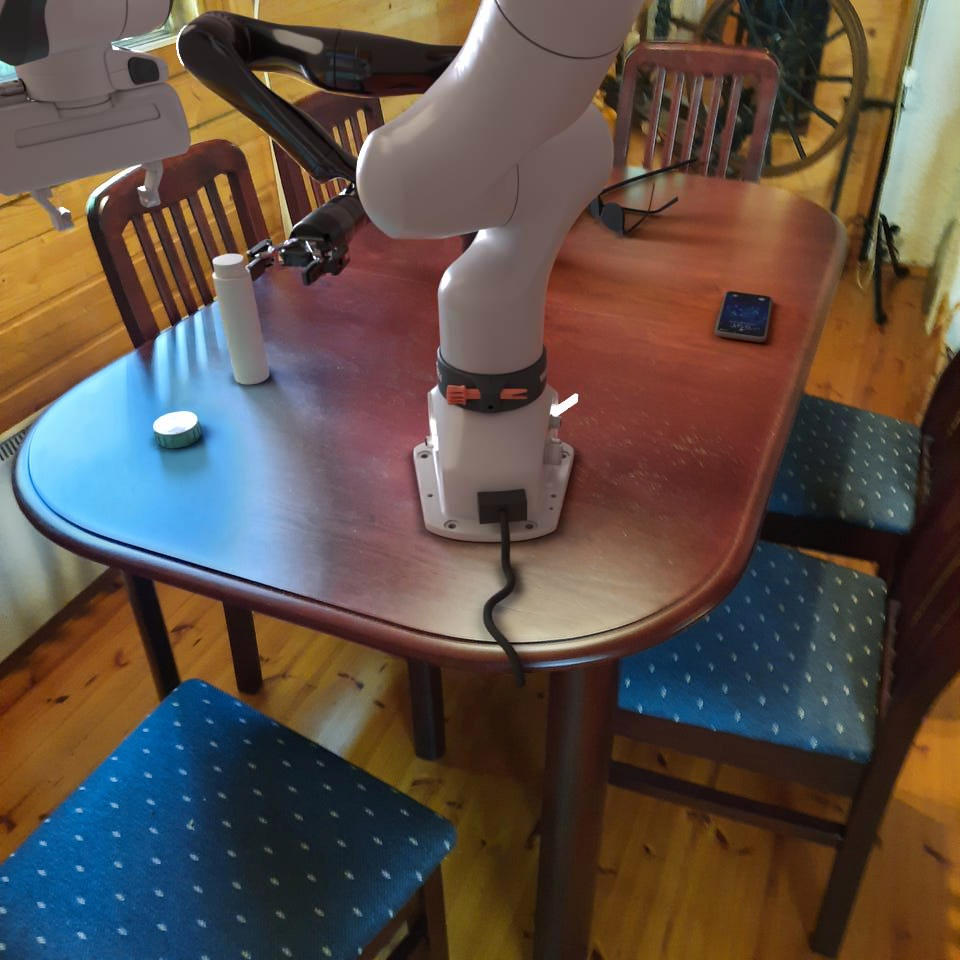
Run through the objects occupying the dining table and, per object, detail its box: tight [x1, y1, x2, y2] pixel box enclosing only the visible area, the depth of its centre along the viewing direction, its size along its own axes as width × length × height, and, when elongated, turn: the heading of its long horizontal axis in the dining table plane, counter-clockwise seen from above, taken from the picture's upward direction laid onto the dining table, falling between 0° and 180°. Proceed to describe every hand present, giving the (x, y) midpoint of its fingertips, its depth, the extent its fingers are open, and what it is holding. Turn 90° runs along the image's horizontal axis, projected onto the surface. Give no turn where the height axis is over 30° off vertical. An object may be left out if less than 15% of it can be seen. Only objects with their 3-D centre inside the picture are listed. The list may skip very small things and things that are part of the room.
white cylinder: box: [211, 253, 270, 386], centre depth 113 cm, size 5×5×17 cm
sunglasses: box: [587, 181, 679, 236], centre depth 161 cm, size 17×14×5 cm
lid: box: [153, 410, 203, 449], centre depth 105 cm, size 5×5×2 cm
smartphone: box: [714, 290, 774, 343], centre depth 128 cm, size 7×1×15 cm
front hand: (109, 216), depth 88 cm, fingers open, 8 cm apart
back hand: (277, 277), depth 120 cm, fingers open, 8 cm apart
